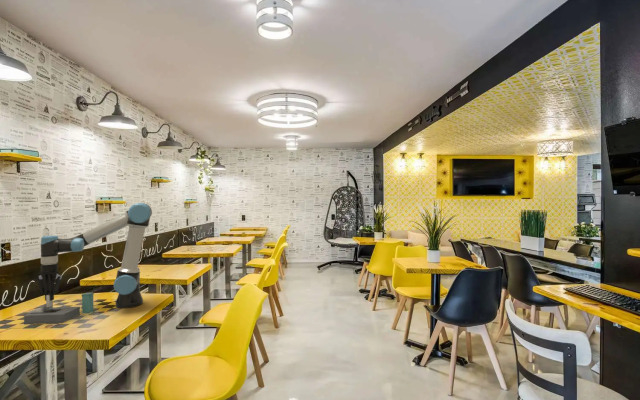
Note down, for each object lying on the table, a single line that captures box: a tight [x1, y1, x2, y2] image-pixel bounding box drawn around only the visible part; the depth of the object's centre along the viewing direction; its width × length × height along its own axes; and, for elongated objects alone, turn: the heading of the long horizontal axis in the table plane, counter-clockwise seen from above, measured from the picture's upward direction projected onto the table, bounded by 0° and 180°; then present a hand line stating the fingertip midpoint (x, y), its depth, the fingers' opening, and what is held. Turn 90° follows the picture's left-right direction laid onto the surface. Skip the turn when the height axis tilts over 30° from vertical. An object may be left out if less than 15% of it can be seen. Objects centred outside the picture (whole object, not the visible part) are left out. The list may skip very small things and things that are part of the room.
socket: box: [23, 306, 81, 325], centre depth 190 cm, size 20×14×4 cm
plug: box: [81, 292, 95, 314], centre depth 202 cm, size 4×4×11 cm
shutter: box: [28, 303, 54, 314], centre depth 190 cm, size 8×8×4 cm
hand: (49, 306), depth 190 cm, fingers closed
